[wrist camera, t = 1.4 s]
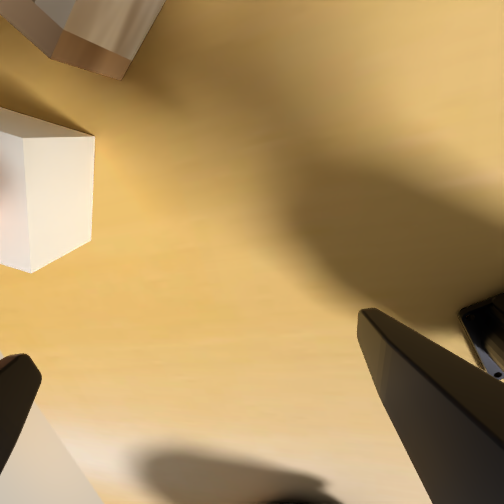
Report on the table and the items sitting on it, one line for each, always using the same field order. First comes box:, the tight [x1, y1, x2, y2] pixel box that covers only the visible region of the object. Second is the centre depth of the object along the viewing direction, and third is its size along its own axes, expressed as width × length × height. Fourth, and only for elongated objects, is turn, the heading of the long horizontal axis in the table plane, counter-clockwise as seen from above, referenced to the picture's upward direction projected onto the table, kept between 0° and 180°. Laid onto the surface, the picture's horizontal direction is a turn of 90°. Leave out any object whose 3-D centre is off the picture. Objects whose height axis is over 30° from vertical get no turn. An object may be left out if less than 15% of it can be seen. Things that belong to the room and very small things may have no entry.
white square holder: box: [0, 107, 95, 273], centre depth 16 cm, size 7×7×5 cm
